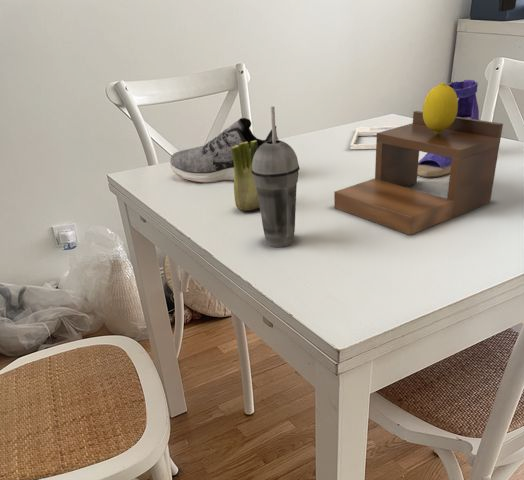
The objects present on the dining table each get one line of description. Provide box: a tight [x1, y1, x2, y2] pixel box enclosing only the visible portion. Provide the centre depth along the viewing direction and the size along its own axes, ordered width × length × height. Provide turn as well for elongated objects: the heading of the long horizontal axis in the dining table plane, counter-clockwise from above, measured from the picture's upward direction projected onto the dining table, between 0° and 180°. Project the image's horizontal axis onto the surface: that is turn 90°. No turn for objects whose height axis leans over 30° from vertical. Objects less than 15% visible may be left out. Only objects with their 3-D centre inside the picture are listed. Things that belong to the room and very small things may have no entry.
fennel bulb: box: [231, 140, 260, 212], centre depth 97 cm, size 6×5×12 cm
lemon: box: [422, 82, 459, 134], centre depth 89 cm, size 6×6×8 cm
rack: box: [333, 110, 504, 236], centre depth 92 cm, size 20×18×13 cm
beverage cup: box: [251, 106, 301, 248], centre depth 81 cm, size 7×7×20 cm
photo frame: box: [349, 125, 402, 150], centre depth 133 cm, size 15×1×18 cm
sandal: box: [417, 79, 480, 179], centre depth 109 cm, size 8×20×15 cm, turn 132°
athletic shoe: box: [170, 117, 279, 184], centre depth 114 cm, size 10×27×12 cm, turn 71°
